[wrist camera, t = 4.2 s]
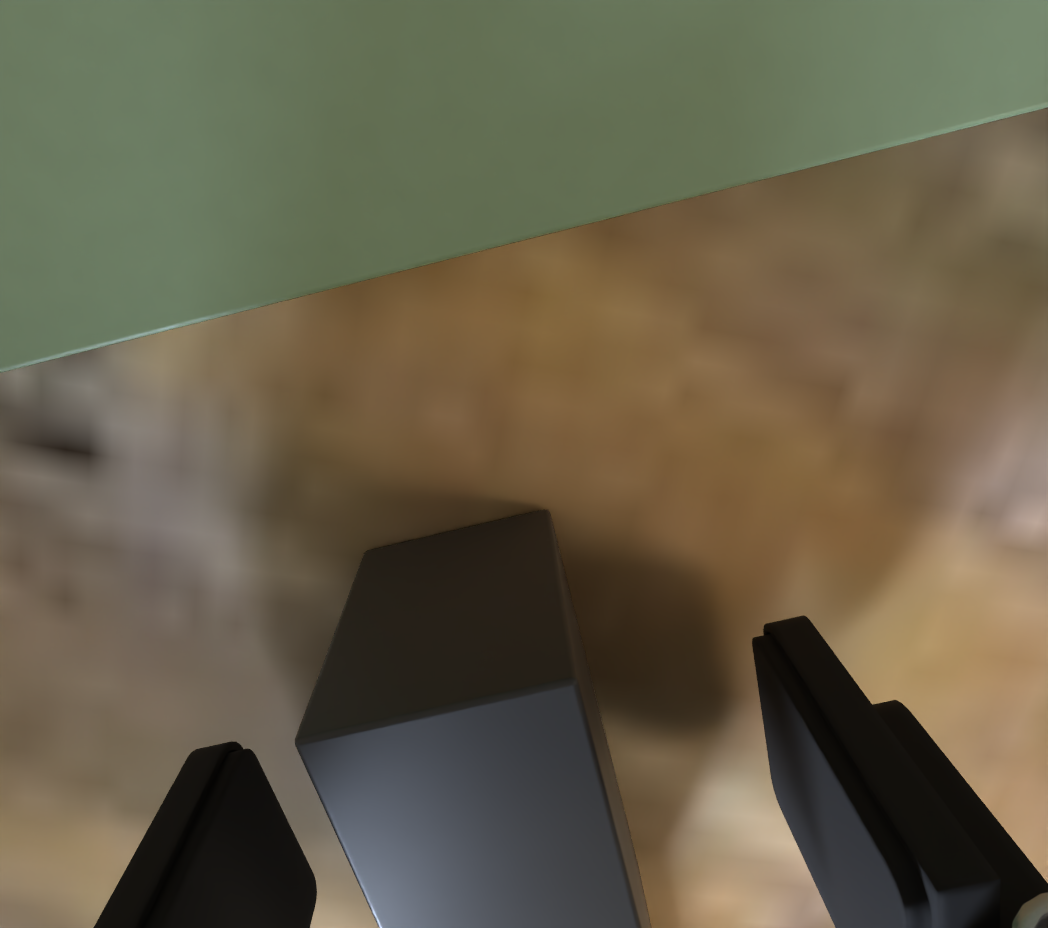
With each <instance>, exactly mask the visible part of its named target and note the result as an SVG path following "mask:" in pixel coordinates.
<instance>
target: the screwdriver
mask: <svg viewBox="0 0 1048 928" xmlns="http://www.w3.org/2000/svg"><path fill="white" fill-rule="evenodd" d="M295 745H296V748H297V750H298V752H299V754H300V756H301V759H302V761H303V763H304V765H305V767H306V770H307V772H308V774H309V776H310V778H311V780H312V783H313V785H314V787H315V789H316V791H317V794H318V796H319V798H320V800H321V802H322V804H323V807H324V809H325V811H326V813H327V815H328V818H329V820H330V822H331V824H332V826H333V828H334V831H335V833H336V835H337V837H338V839H339V842H340V844H341V846H342V848H343V850H344V852H345V855H346V857H347V859H348V861H349V863H350V866H351V868H352V870H353V872H354V874H355V876H356V879H357V881H358V883H359V885H360V887H361V889H362V892H363V894H364V896H365V898H366V900H367V903H368V905H369V907H370V909H371V911H372V913H373V916H374V918H375V920H376V922H377V924H378V927H379V928H651V924H650V919H649V914H648V909H647V905H646V900H645V895H644V891H643V886H642V881H641V876H640V872H639V867H638V863H637V859H636V855H635V851H634V847H633V843H632V839H631V835H630V831H629V827H628V823H627V819H626V815H625V811H624V807H623V803H622V799H621V795H620V791H619V787H618V783H617V779H616V775H615V771H614V767H613V763H612V759H611V755H610V751H609V747H608V743H607V739H606V735H605V731H604V727H603V723H602V719H601V715H600V711H599V707H598V703H597V699H596V695H595V691H594V687H593V683H592V679H591V675H590V671H589V667H588V663H587V659H586V655H585V651H584V647H583V643H582V639H581V635H580V631H579V627H578V623H577V619H576V615H575V611H574V607H573V603H572V599H571V595H570V591H569V587H568V583H567V579H566V575H565V571H564V567H563V563H562V559H561V555H560V550H559V546H558V542H557V538H556V534H555V530H554V526H553V522H552V518H551V514H550V512H549V511H548V510H541V511H537V512H532V513H528V514H524V515H519V516H515V517H511V518H507V519H502V520H498V521H494V522H489V523H485V524H481V525H477V526H472V527H468V528H464V529H459V530H455V531H451V532H446V533H442V534H438V535H434V536H429V537H425V538H421V539H416V540H412V541H408V542H404V543H399V544H395V545H391V546H386V547H382V548H378V549H374V550H369V551H366V552H365V553H364V555H363V558H362V561H361V563H360V566H359V569H358V571H357V574H356V577H355V579H354V582H353V585H352V587H351V590H350V593H349V595H348V598H347V601H346V604H345V606H344V609H343V612H342V614H341V617H340V620H339V622H338V625H337V628H336V630H335V633H334V636H333V638H332V641H331V644H330V647H329V649H328V652H327V655H326V657H325V660H324V663H323V665H322V668H321V671H320V673H319V676H318V679H317V681H316V684H315V687H314V690H313V692H312V695H311V698H310V700H309V703H308V706H307V708H306V711H305V714H304V716H303V719H302V722H301V724H300V727H299V730H298V733H297V735H296V738H295Z"/></svg>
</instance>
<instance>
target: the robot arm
mask: <svg viewBox="0 0 1048 928" xmlns="http://www.w3.org/2000/svg"><path fill="white" fill-rule="evenodd" d="M763 632H764V635H763V636H759V637H754V638H753V639H752V646H753V653H754V660H755V667H756V674H757V681H758V688H759V695H760V702H761V709H762V716H763V723H764V730H765V737H766V744H767V751H768V758H769V765H770V772H771V779H772V784H773V788H774V791H775V795H776V798H777V800H778V803H779V806H780V808H781V810H782V812H783V815H784V817H785V819H786V821H787V823H788V825H789V828H790V830H791V832H792V834H793V836H794V838H795V841H796V843H797V845H798V847H799V849H800V851H801V854H802V856H803V858H804V860H805V862H806V864H807V867H808V869H809V871H810V873H811V875H812V877H813V880H814V882H815V884H816V886H817V888H818V890H819V893H820V895H821V897H822V899H823V901H824V903H825V906H826V908H827V910H828V912H829V914H830V916H831V919H832V921H833V923H834V925H835V927H836V928H1048V883H1047V882H1046V881H1045V879H1044V878H1043V877H1042V876H1041V874H1040V873H1039V872H1038V871H1037V869H1036V868H1035V867H1034V866H1033V864H1032V863H1031V862H1030V861H1029V859H1028V858H1027V857H1026V856H1025V854H1024V853H1023V852H1022V851H1021V849H1020V848H1019V847H1018V846H1017V844H1016V843H1015V842H1014V841H1013V839H1012V838H1011V837H1010V836H1009V834H1008V833H1007V832H1006V831H1005V829H1004V828H1003V827H1002V826H1001V824H1000V823H999V822H998V821H997V819H996V818H995V817H994V816H993V814H992V813H991V812H990V811H989V809H988V808H987V807H986V806H985V804H984V803H983V802H982V801H981V799H980V798H979V797H978V796H977V794H976V793H975V792H974V791H973V789H972V788H971V787H970V786H969V784H968V783H967V782H966V781H965V779H964V778H963V777H962V776H961V774H960V773H959V772H958V771H957V769H956V768H955V767H954V766H953V764H952V763H951V762H950V761H949V759H948V758H947V757H946V756H945V754H944V753H943V752H942V751H941V749H940V748H939V747H938V746H937V744H936V743H935V742H934V741H933V739H932V738H931V737H930V736H929V734H928V733H927V732H926V731H925V729H924V728H923V727H922V726H921V724H920V723H919V722H918V721H917V719H916V718H915V717H914V716H913V714H912V713H911V712H910V711H909V710H908V709H907V708H906V707H905V706H904V705H903V704H902V703H900V702H898V701H897V700H893V701H888V702H883V703H879V704H874V705H872V704H871V703H870V701H869V700H868V699H867V697H866V696H865V694H864V693H863V692H862V690H861V689H860V688H859V686H858V685H857V684H856V682H855V681H854V680H853V678H852V677H851V675H850V674H849V673H848V671H847V670H846V669H845V667H844V666H843V665H842V663H841V662H840V661H839V659H838V658H837V656H836V655H835V654H834V652H833V651H832V650H831V648H830V647H829V646H828V644H827V643H826V641H825V640H824V639H823V637H822V636H821V635H820V633H819V632H818V631H817V629H816V628H815V627H814V625H813V624H812V622H811V621H810V620H809V619H808V618H807V617H806V616H799V617H795V618H790V619H786V620H781V621H777V622H772V623H768V624H765V625H764V629H763ZM316 896H317V888H316V880H315V877H314V874H313V872H312V870H311V868H310V865H309V863H308V861H307V859H306V857H305V855H304V853H303V851H302V849H301V847H300V845H299V843H298V841H297V839H296V837H295V835H294V833H293V831H292V829H291V827H290V825H289V823H288V821H287V819H286V816H285V814H284V812H283V810H282V808H281V806H280V804H279V802H278V800H277V798H276V796H275V794H274V792H273V790H272V788H271V786H270V784H269V782H268V780H267V778H266V776H265V774H264V772H263V769H262V767H261V765H260V763H259V761H258V759H257V757H256V755H255V754H254V752H253V751H252V750H250V749H243V748H242V746H241V745H240V744H239V743H237V742H227V743H222V744H218V745H213V746H209V747H204V748H200V749H196V750H194V751H193V752H191V754H190V755H189V756H188V758H187V759H186V761H185V763H184V765H183V767H182V768H181V770H180V772H179V774H178V776H177V778H176V779H175V781H174V783H173V785H172V787H171V788H170V790H169V792H168V794H167V796H166V797H165V799H164V801H163V803H162V805H161V807H160V808H159V810H158V812H157V814H156V816H155V817H154V819H153V821H152V823H151V825H150V826H149V828H148V830H147V832H146V834H145V836H144V837H143V839H142V841H141V843H140V845H139V846H138V848H137V850H136V852H135V854H134V855H133V857H132V859H131V861H130V863H129V865H128V866H127V868H126V870H125V872H124V874H123V875H122V877H121V879H120V881H119V883H118V884H117V886H116V888H115V890H114V892H113V894H112V895H111V897H110V899H109V901H108V903H107V904H106V906H105V908H104V910H103V912H102V913H101V915H100V917H99V919H98V921H97V923H96V924H95V926H94V928H310V924H311V920H312V916H313V912H314V908H315V904H316Z"/></svg>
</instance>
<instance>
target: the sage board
mask: <svg viewBox="0 0 1048 928" xmlns="http://www.w3.org/2000/svg"><path fill="white" fill-rule="evenodd" d="M1044 108H1048V0H0V373H2V372H6V371H10V370H14V369H18V368H21V367H25V366H29V365H33V364H37V363H41V362H45V361H49V360H53V359H57V358H61V357H65V356H69V355H73V354H77V353H81V352H85V351H89V350H92V349H96V348H100V347H104V346H108V345H112V344H116V343H120V342H124V341H128V340H132V339H136V338H140V337H144V336H148V335H152V334H156V333H160V332H164V331H167V330H171V329H175V328H179V327H183V326H187V325H191V324H195V323H199V322H203V321H207V320H211V319H215V318H219V317H223V316H227V315H231V314H235V313H239V312H242V311H246V310H250V309H254V308H258V307H262V306H266V305H270V304H274V303H278V302H282V301H286V300H290V299H294V298H298V297H302V296H306V295H310V294H314V293H317V292H321V291H325V290H329V289H333V288H337V287H341V286H345V285H349V284H353V283H357V282H361V281H365V280H369V279H373V278H377V277H381V276H385V275H389V274H392V273H396V272H400V271H404V270H408V269H412V268H416V267H420V266H424V265H428V264H432V263H436V262H440V261H444V260H448V259H452V258H456V257H460V256H464V255H467V254H471V253H475V252H479V251H483V250H487V249H491V248H495V247H499V246H503V245H507V244H511V243H515V242H519V241H523V240H527V239H531V238H535V237H539V236H542V235H546V234H550V233H554V232H558V231H562V230H566V229H570V228H574V227H578V226H582V225H586V224H590V223H594V222H598V221H602V220H606V219H610V218H614V217H617V216H621V215H625V214H629V213H633V212H637V211H641V210H645V209H649V208H653V207H657V206H661V205H665V204H669V203H673V202H677V201H681V200H685V199H688V198H692V197H696V196H700V195H704V194H708V193H712V192H716V191H720V190H724V189H728V188H732V187H736V186H740V185H744V184H748V183H752V182H756V181H760V180H763V179H767V178H771V177H775V176H779V175H783V174H787V173H791V172H795V171H799V170H803V169H807V168H811V167H815V166H819V165H823V164H827V163H831V162H835V161H838V160H842V159H846V158H850V157H854V156H858V155H862V154H866V153H870V152H874V151H878V150H882V149H886V148H890V147H894V146H898V145H902V144H906V143H910V142H913V141H917V140H921V139H925V138H929V137H933V136H937V135H941V134H945V133H949V132H953V131H957V130H961V129H965V128H969V127H973V126H977V125H981V124H985V123H988V122H992V121H996V120H1000V119H1004V118H1008V117H1012V116H1016V115H1020V114H1024V113H1028V112H1032V111H1036V110H1040V109H1044Z"/></svg>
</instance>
